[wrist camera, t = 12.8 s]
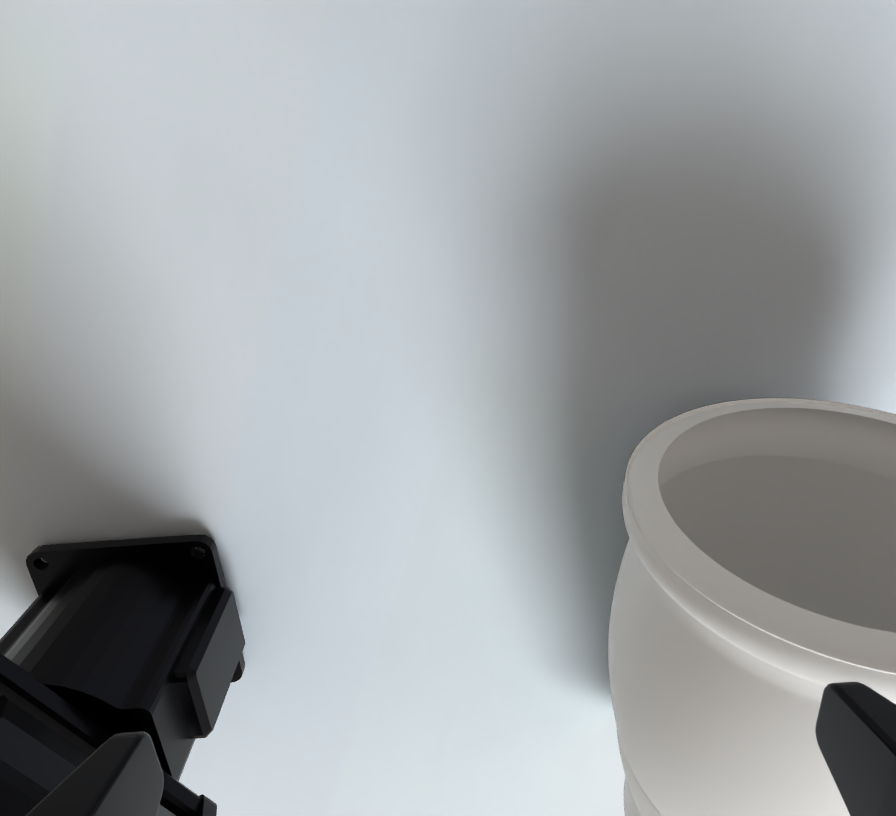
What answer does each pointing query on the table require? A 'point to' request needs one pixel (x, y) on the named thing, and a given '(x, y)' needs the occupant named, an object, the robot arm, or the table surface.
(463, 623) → the table surface
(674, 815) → the jar
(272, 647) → the table surface
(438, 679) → the table surface
